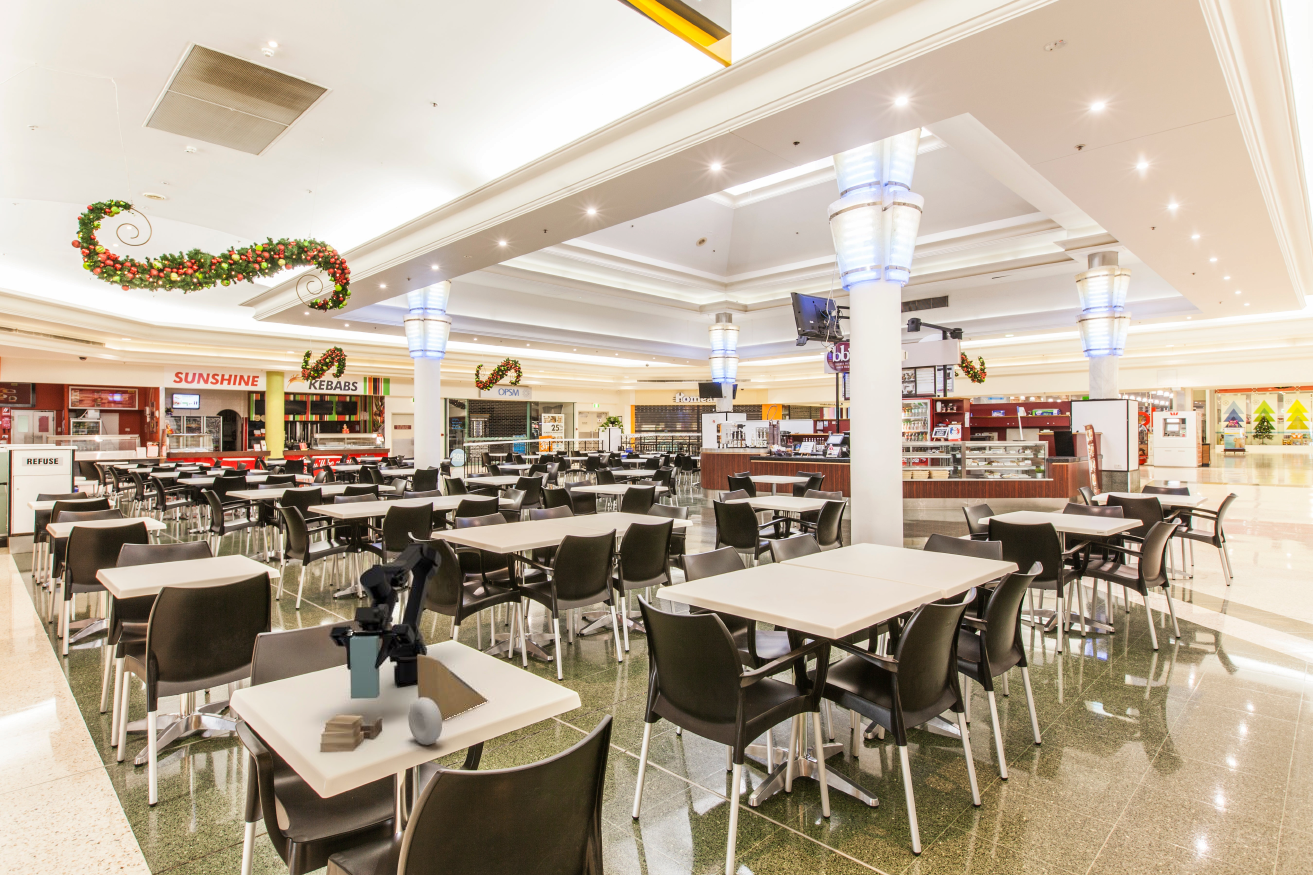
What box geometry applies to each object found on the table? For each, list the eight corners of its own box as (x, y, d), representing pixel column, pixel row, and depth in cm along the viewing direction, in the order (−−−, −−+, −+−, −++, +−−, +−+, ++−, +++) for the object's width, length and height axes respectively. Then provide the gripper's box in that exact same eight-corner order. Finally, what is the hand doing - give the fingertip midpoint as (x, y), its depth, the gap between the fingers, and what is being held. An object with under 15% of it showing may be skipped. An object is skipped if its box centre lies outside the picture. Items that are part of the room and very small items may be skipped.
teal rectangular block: (354, 695, 150) (353, 636, 150) (379, 694, 150) (379, 635, 150) (350, 698, 148) (350, 638, 149) (376, 697, 148) (375, 637, 149)
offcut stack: (332, 741, 141) (331, 715, 141) (364, 740, 141) (364, 714, 141) (319, 752, 135) (319, 725, 136) (352, 752, 135) (352, 724, 136)
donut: (405, 740, 140) (404, 695, 140) (419, 734, 143) (418, 690, 143) (432, 752, 134) (431, 705, 134) (446, 746, 137) (445, 700, 137)
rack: (334, 731, 145) (334, 718, 145) (382, 730, 145) (382, 717, 146) (325, 740, 141) (325, 727, 141) (373, 739, 141) (373, 725, 141)
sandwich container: (491, 702, 161) (490, 642, 161) (439, 723, 149) (438, 659, 149) (470, 694, 166) (469, 637, 167) (417, 715, 154) (417, 653, 154)
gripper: (332, 592, 153) (308, 653, 142) (409, 590, 154) (392, 650, 143) (348, 616, 161) (326, 675, 150) (421, 614, 161) (406, 673, 150)
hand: (362, 668), depth 148 cm, fingers closed on teal rectangular block, 6 cm apart
